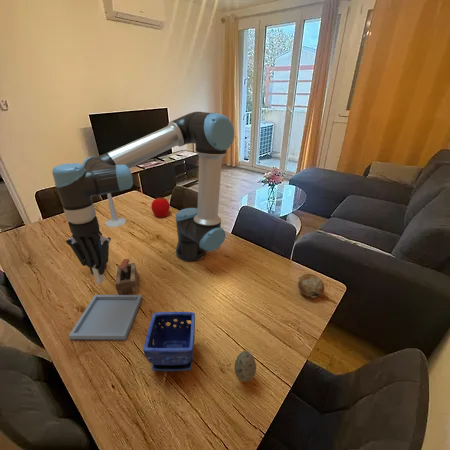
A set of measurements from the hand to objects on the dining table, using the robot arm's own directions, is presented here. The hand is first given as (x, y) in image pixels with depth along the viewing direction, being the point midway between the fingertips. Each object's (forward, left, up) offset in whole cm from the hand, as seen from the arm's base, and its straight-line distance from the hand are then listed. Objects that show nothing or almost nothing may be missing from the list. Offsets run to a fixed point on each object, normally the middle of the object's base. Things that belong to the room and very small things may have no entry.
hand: (100, 281), depth 83 cm
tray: (-1, +2, -15) cm, 15 cm away
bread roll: (-75, -14, -16) cm, 78 cm away
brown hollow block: (-1, -15, -15) cm, 22 cm away
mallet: (-1, -17, -15) cm, 23 cm away
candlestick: (+25, -69, -15) cm, 75 cm away
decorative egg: (-48, +22, -15) cm, 55 cm away
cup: (+15, -26, -15) cm, 34 cm away
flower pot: (-27, +16, -15) cm, 35 cm away
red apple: (0, -79, -15) cm, 80 cm away
